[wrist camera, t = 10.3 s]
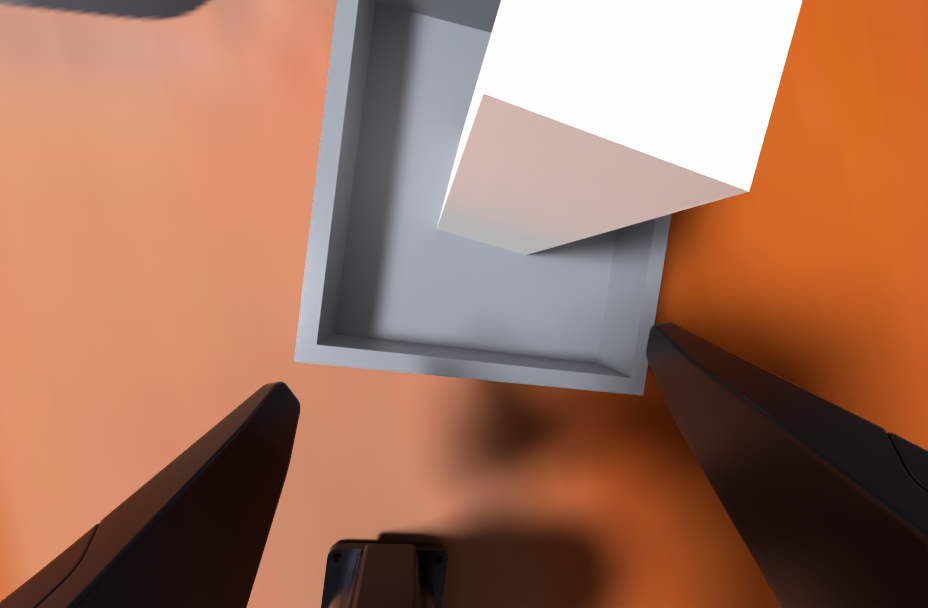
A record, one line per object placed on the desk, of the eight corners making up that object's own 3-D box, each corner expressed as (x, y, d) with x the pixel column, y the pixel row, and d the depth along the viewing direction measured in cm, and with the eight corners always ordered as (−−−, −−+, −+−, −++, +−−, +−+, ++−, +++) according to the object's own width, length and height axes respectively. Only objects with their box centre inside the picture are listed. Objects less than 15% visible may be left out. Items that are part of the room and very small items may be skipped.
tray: (597, 373, 20) (643, 395, 16) (321, 344, 17) (293, 361, 13) (643, 72, 19) (702, 16, 15) (364, -1, 17) (347, -90, 13)
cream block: (526, 254, 18) (748, 191, 6) (436, 228, 17) (484, 92, 5) (550, 165, 18) (825, -85, 6) (461, 134, 17) (567, -228, 5)
